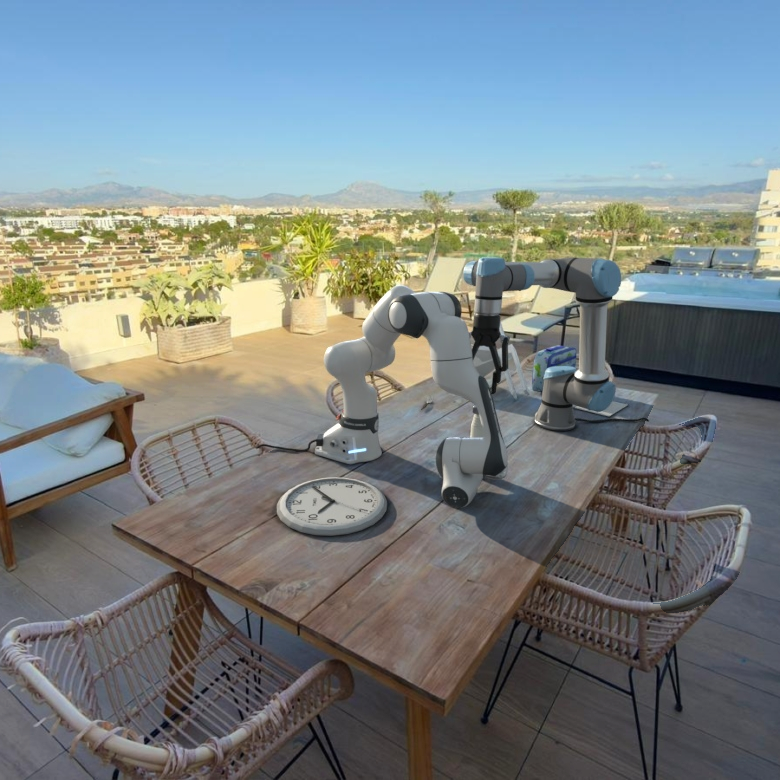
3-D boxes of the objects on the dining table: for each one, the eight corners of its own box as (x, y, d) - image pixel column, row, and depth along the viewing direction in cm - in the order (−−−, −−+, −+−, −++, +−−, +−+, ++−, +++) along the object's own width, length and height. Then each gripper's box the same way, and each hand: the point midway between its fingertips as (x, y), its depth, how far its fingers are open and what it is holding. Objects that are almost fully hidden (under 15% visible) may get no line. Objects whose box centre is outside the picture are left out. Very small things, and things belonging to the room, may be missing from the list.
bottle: (479, 478, 160) (484, 410, 153) (464, 474, 162) (469, 407, 156) (486, 472, 163) (492, 406, 157) (472, 468, 166) (477, 403, 160)
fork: (418, 410, 217) (418, 406, 217) (428, 399, 232) (428, 395, 231) (424, 411, 216) (424, 406, 216) (434, 400, 231) (434, 395, 230)
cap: (483, 416, 154) (484, 409, 153) (469, 412, 156) (470, 406, 156) (490, 412, 157) (491, 405, 157) (477, 408, 160) (477, 402, 159)
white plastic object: (461, 429, 252) (437, 405, 227) (444, 352, 274) (420, 323, 250) (535, 404, 240) (518, 377, 215) (510, 326, 262) (492, 293, 237)
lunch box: (548, 398, 236) (553, 353, 229) (527, 393, 243) (531, 349, 237) (575, 387, 253) (581, 344, 247) (555, 382, 260) (560, 341, 254)
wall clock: (392, 527, 129) (268, 531, 127) (391, 533, 130) (269, 537, 127) (383, 473, 158) (282, 475, 155) (383, 478, 158) (282, 480, 156)
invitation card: (608, 416, 214) (573, 407, 224) (608, 416, 214) (573, 408, 224) (628, 404, 229) (594, 396, 238) (628, 405, 229) (594, 397, 238)
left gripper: (505, 468, 145) (512, 450, 157) (434, 456, 152) (446, 439, 164) (503, 489, 147) (510, 469, 159) (433, 476, 154) (445, 458, 166)
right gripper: (525, 315, 147) (517, 392, 154) (458, 309, 155) (453, 383, 162) (519, 318, 141) (511, 399, 147) (449, 312, 149) (445, 389, 155)
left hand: (477, 454), depth 162 cm, fingers closed on bottle, 5 cm apart
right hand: (481, 391), depth 155 cm, fingers open, 7 cm apart
